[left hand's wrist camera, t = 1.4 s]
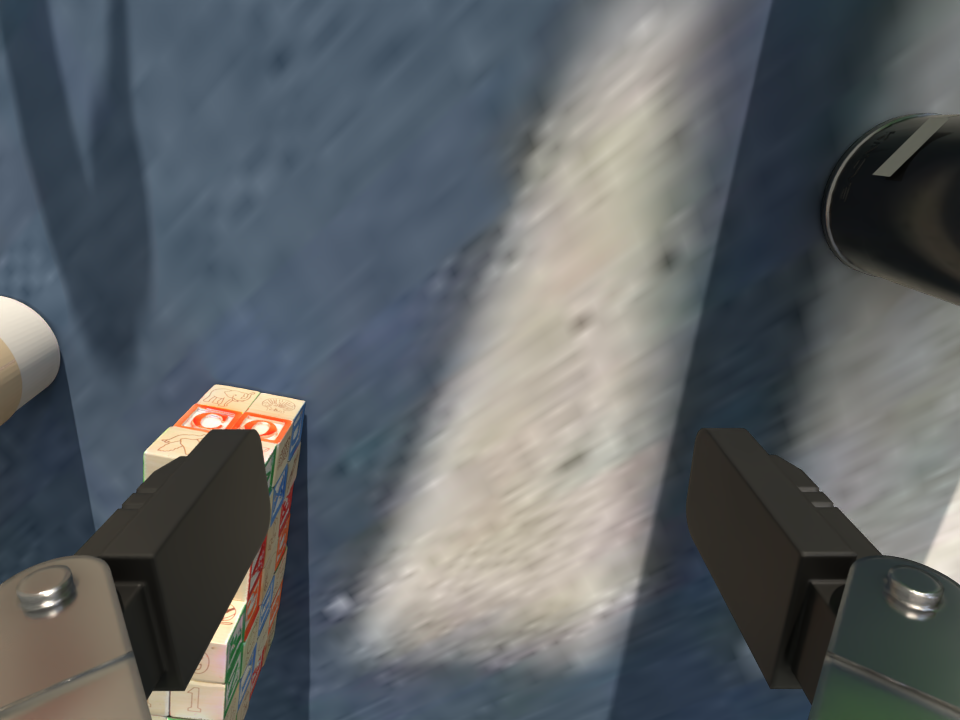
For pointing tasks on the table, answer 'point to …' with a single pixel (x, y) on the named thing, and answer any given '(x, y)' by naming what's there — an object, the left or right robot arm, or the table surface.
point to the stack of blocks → (252, 613)
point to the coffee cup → (24, 356)
